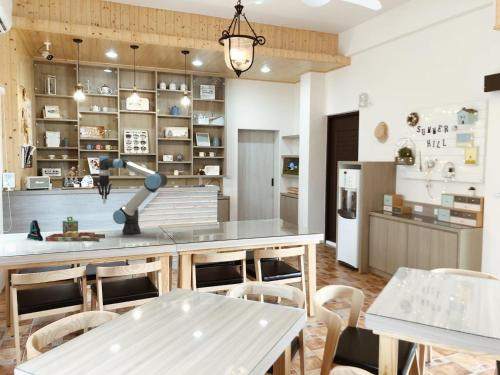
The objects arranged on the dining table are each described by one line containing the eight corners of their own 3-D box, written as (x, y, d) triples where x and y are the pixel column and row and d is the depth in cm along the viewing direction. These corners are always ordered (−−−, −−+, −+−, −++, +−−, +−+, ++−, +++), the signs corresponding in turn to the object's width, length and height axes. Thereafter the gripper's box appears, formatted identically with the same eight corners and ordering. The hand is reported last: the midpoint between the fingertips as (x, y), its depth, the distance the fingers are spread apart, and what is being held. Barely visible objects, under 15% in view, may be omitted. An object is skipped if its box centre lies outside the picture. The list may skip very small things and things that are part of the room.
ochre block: (78, 238, 333) (78, 231, 332) (74, 240, 326) (74, 232, 325) (69, 238, 333) (69, 231, 332) (65, 240, 326) (65, 232, 325)
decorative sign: (43, 240, 324) (42, 221, 323) (40, 241, 322) (39, 221, 321) (30, 237, 334) (29, 218, 333) (27, 238, 332) (26, 219, 331)
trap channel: (107, 236, 344) (107, 232, 344) (98, 241, 322) (98, 237, 322) (57, 235, 343) (57, 232, 343) (45, 241, 321) (45, 237, 321)
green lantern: (68, 236, 341) (67, 218, 340) (62, 234, 347) (61, 217, 346) (78, 234, 349) (78, 217, 347) (72, 233, 354) (72, 215, 353)
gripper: (94, 175, 341) (95, 203, 343) (110, 175, 342) (111, 203, 344) (97, 174, 349) (98, 202, 351) (113, 174, 349) (113, 202, 351)
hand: (104, 203), depth 347 cm, fingers closed
